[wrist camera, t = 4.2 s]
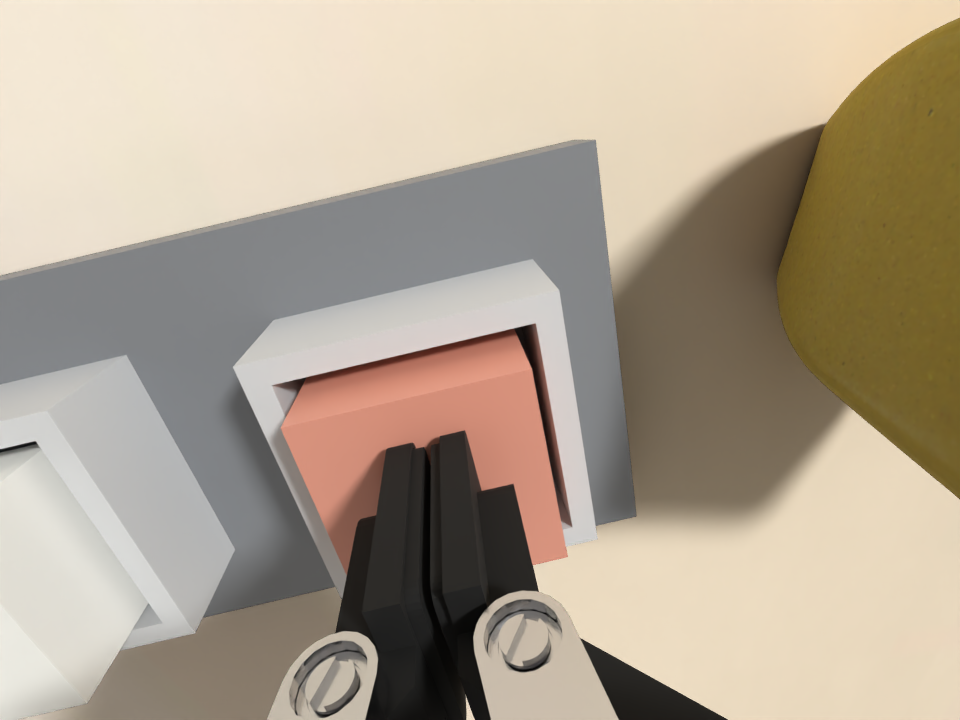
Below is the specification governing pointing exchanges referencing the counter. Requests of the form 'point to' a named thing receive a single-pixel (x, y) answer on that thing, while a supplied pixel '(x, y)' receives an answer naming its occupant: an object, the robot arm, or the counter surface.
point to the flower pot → (887, 254)
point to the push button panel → (304, 365)
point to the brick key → (426, 432)
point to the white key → (55, 592)
